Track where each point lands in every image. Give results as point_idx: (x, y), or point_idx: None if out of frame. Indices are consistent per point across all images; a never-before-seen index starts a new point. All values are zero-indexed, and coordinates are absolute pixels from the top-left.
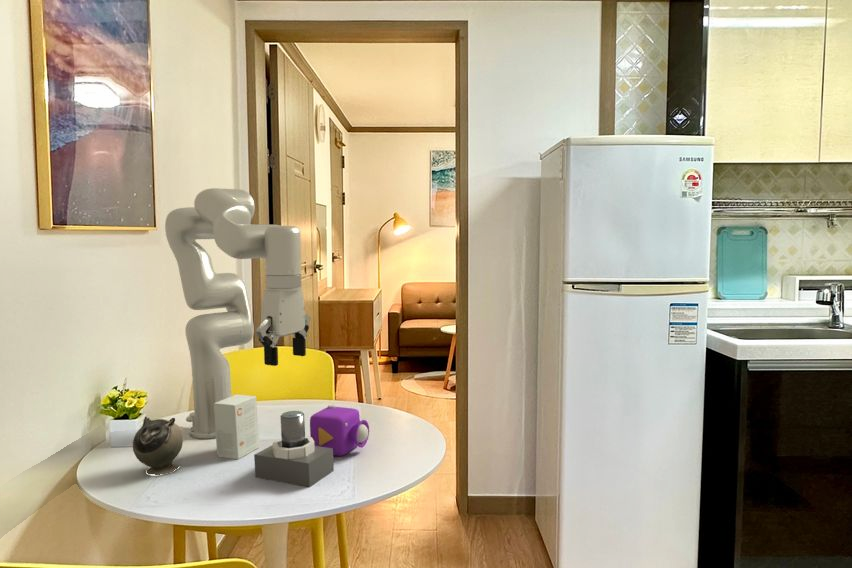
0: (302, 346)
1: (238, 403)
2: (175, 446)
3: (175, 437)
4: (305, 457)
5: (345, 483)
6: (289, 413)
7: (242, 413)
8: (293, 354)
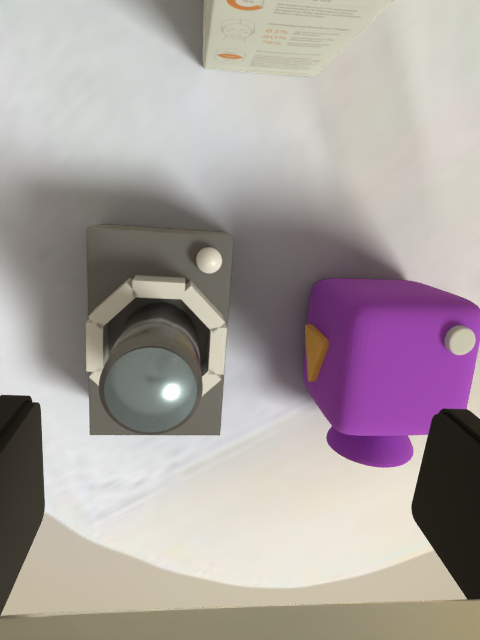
0: (460, 578)
1: None
2: None
3: None
4: None
5: (154, 468)
6: (151, 377)
7: (263, 9)
8: (434, 417)
